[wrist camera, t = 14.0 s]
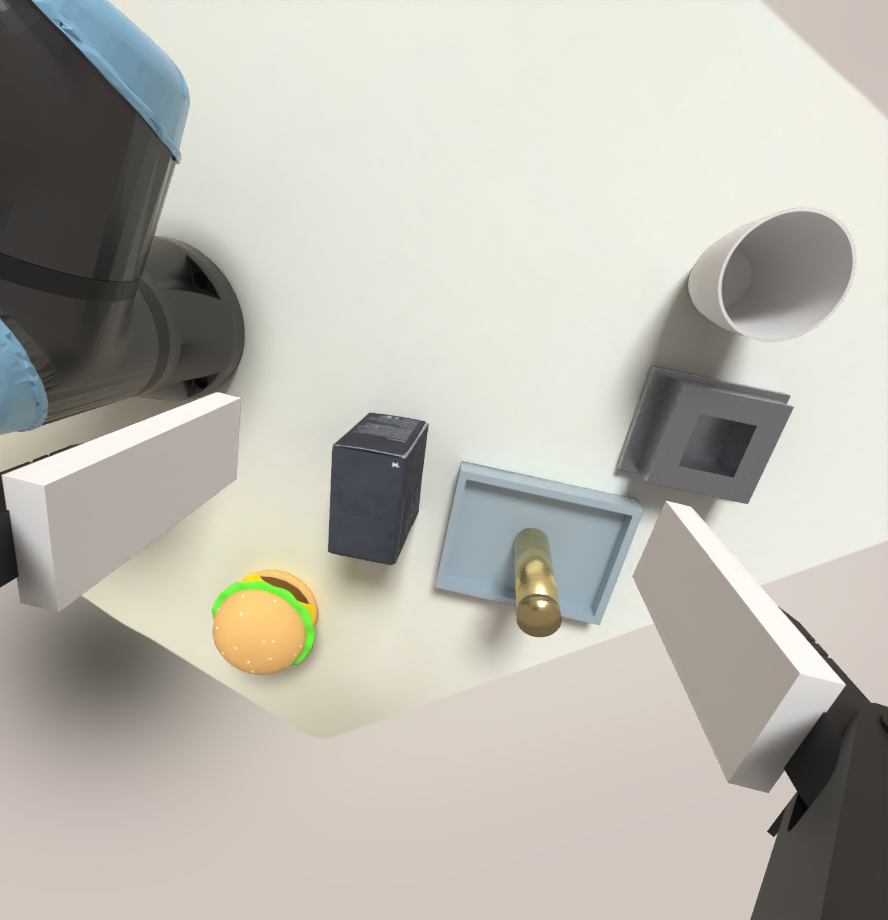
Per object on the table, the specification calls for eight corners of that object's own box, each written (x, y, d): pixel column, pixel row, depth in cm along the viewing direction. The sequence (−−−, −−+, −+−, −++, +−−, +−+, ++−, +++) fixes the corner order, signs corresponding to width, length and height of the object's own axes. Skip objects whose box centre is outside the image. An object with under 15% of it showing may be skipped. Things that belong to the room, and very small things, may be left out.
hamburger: (304, 656, 60) (273, 714, 52) (220, 611, 59) (175, 662, 51) (344, 591, 56) (317, 643, 47) (254, 541, 55) (211, 585, 47)
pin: (510, 553, 50) (512, 631, 39) (518, 524, 49) (522, 596, 38) (543, 561, 50) (554, 641, 39) (552, 532, 49) (567, 607, 38)
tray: (437, 574, 53) (434, 587, 51) (462, 461, 48) (460, 470, 46) (595, 610, 52) (599, 625, 50) (636, 499, 47) (643, 510, 45)
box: (365, 410, 47) (330, 442, 38) (429, 420, 47) (411, 455, 37) (359, 504, 51) (325, 555, 42) (418, 514, 51) (398, 568, 41)
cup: (774, 314, 40) (857, 322, 31) (675, 340, 42) (724, 356, 32) (767, 212, 38) (855, 188, 28) (662, 245, 39) (711, 232, 30)
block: (616, 465, 46) (628, 483, 42) (651, 365, 43) (667, 374, 38) (738, 492, 46) (762, 512, 42) (784, 393, 42) (815, 404, 38)
